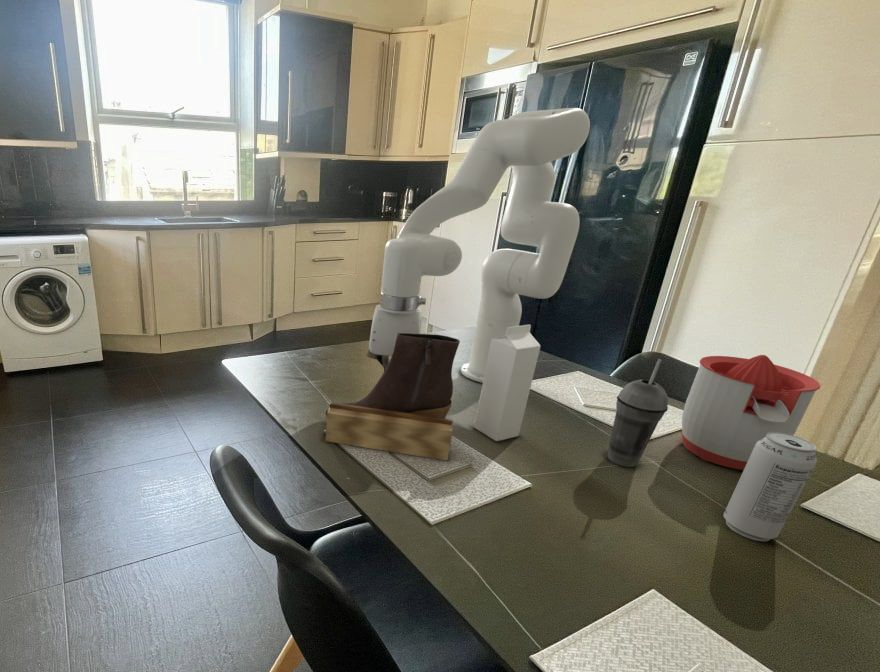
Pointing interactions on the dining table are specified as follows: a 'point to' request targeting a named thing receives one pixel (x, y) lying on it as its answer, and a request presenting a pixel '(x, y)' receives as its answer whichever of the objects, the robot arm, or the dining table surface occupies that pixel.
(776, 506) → the energy drink can
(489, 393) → the milk
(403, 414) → the wooden block
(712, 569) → the dining table surface
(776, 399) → the citrus juicer
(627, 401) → the beverage cup
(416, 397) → the boot
